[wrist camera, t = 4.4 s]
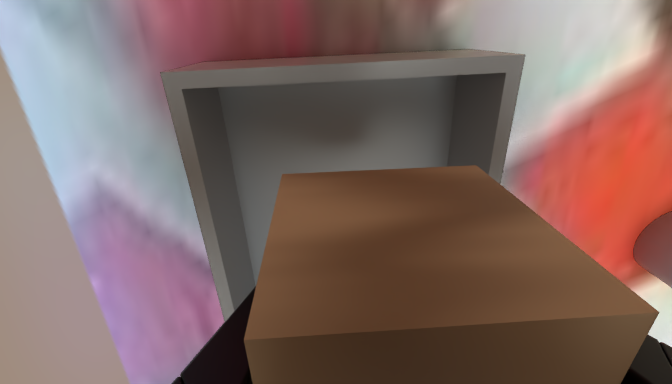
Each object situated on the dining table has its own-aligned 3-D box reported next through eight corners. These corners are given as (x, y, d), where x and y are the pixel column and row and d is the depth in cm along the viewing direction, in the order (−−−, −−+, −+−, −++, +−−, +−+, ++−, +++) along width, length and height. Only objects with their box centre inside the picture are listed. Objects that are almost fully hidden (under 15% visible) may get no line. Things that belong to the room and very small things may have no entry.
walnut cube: (476, 164, 8) (659, 312, 4) (451, 309, 11) (551, 509, 6) (282, 174, 8) (242, 339, 4) (297, 319, 10) (284, 535, 6)
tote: (436, 304, 24) (464, 367, 20) (255, 318, 24) (241, 385, 19) (467, 49, 17) (525, 54, 12) (203, 61, 16) (160, 72, 12)
